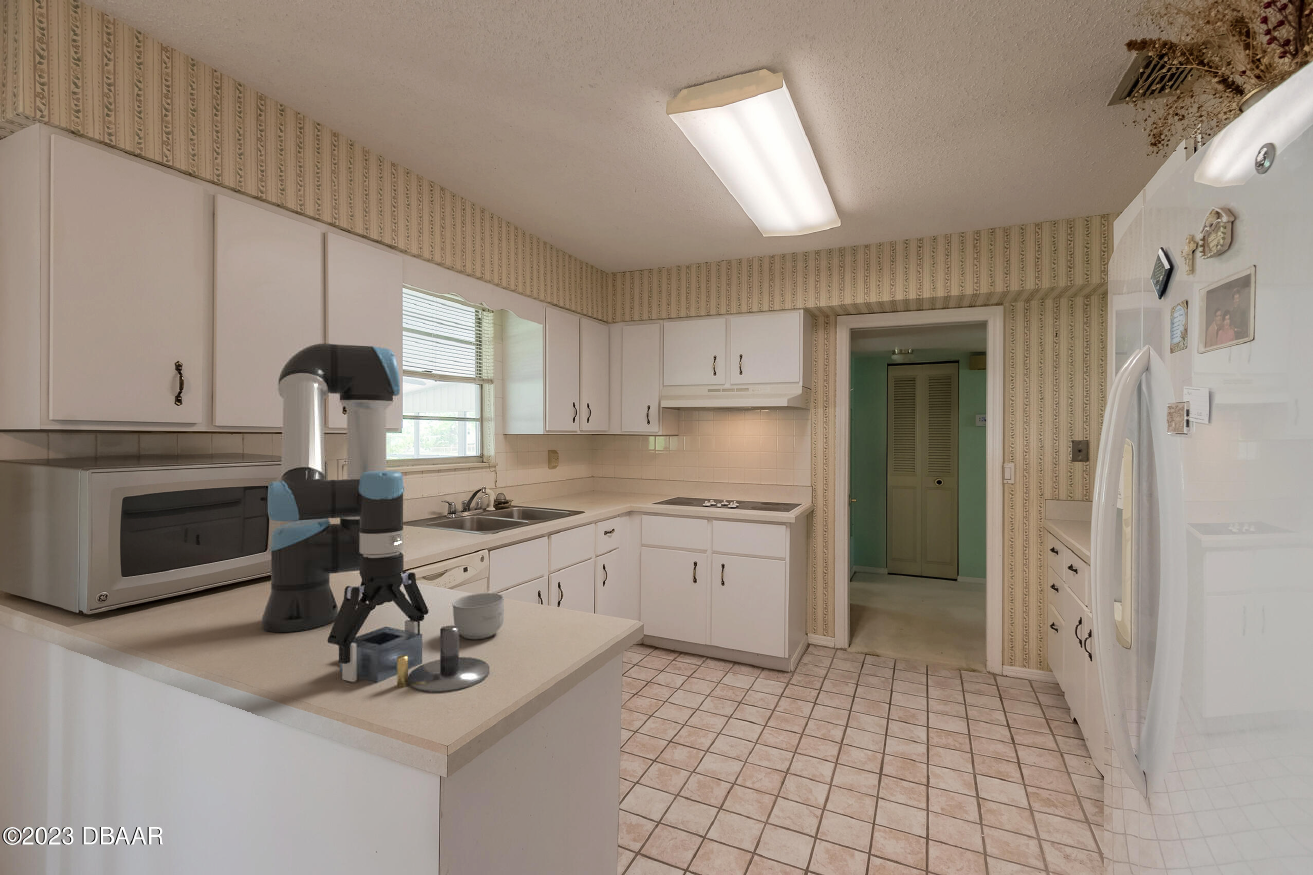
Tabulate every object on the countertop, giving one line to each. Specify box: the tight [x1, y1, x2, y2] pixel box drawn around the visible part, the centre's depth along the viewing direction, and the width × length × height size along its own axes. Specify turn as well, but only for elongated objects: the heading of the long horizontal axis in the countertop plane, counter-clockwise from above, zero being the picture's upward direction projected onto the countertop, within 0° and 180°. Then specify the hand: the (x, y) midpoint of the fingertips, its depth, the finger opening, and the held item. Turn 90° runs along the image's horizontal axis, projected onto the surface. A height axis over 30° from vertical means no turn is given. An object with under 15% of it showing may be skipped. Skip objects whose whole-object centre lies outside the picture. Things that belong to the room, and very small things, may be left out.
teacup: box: [451, 590, 505, 640], centre depth 131 cm, size 14×11×8 cm
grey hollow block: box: [339, 626, 423, 683], centre depth 113 cm, size 15×10×6 cm, turn 64°
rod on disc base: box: [408, 625, 490, 693], centre depth 108 cm, size 14×14×9 cm
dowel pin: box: [396, 655, 409, 688], centre depth 104 cm, size 2×2×5 cm
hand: (382, 666), depth 111 cm, fingers open, 13 cm apart
